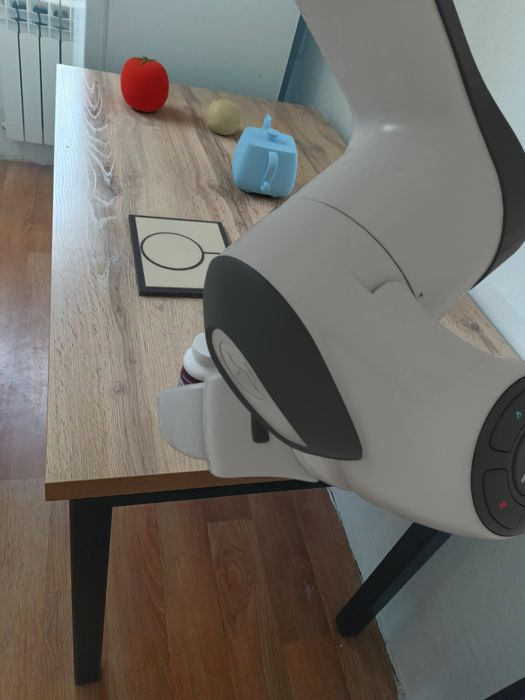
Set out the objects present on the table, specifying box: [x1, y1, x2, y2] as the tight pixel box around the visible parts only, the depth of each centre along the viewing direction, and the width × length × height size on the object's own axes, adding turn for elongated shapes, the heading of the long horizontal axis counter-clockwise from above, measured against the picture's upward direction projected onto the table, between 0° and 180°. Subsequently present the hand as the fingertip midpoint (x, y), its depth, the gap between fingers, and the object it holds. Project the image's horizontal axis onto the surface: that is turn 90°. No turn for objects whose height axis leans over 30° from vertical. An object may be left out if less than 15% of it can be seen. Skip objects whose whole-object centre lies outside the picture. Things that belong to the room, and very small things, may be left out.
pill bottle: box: [177, 331, 219, 386], centre depth 62 cm, size 5×5×10 cm
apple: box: [205, 98, 242, 136], centre depth 122 cm, size 8×8×8 cm
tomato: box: [119, 54, 170, 113], centre depth 119 cm, size 10×11×11 cm
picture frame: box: [127, 213, 231, 298], centre depth 86 cm, size 16×20×1 cm
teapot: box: [231, 113, 298, 198], centre depth 107 cm, size 12×18×12 cm
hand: (255, 396), depth 49 cm, fingers open, 8 cm apart
